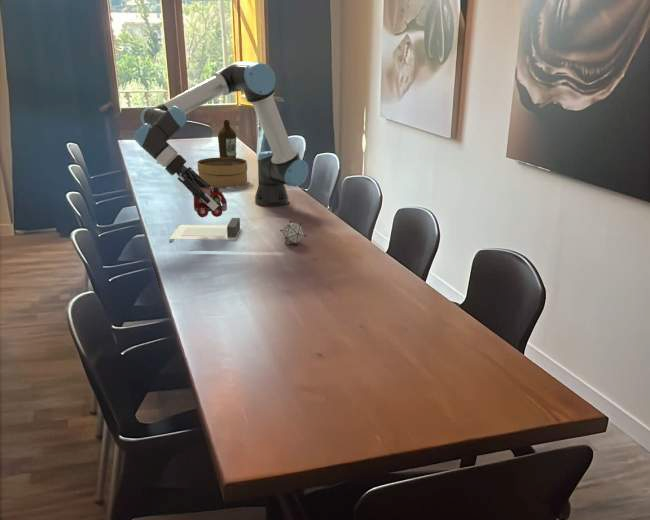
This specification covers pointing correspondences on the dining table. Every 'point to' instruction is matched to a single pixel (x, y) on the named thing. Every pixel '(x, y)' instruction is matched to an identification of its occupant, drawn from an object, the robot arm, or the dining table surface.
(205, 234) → the mat
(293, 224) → the geodesic ball
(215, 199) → the red toy car
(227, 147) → the olive oil
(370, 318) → the dining table surface
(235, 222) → the grey rectangular block
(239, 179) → the steamer basket
